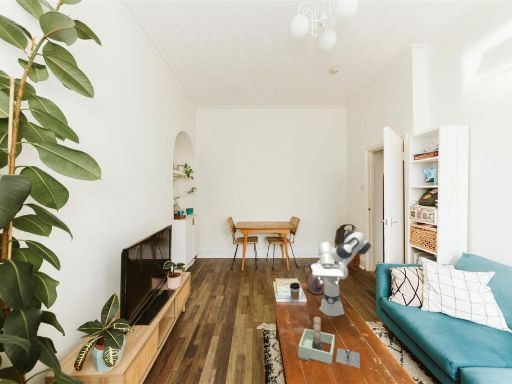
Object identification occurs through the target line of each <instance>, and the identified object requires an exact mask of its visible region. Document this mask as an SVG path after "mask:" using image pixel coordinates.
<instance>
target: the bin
mask: <svg viewBox="0 0 512 384" xmlns="http://www.w3.org/2000/svg"><path fill="white" fill-rule="evenodd" d="M335 337H336V335H335V334H331V333H328V332H327V333H326V332H322V331H321V340H322V343H326V344H328V345H330V351H329V352H328V351H324V350H322V351H321V350H317V349H313V348H312V342H313V339H314V329H310V328H309V329H308V328H304V330H303V333H302V335H301V338H300V341H299V343H298V359H301V360H304V361H305V360H306V361H309V360H310V359H311V360H313V361H318V362H322V363H326V364H329V365H332V362H333V357H334V350H335V341H336V339H335Z"/></svg>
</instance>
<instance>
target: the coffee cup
mask: <svg viewBox="0 0 512 384" xmlns="http://www.w3.org/2000/svg"><path fill="white" fill-rule="evenodd" d="M300 288H301V286H300V283H299V282H292V283H290V284H289V289H290V290H289V291H290V299H291V300H290V303H292V304H298V303H299V300H300V299H299V298H300V297H299V296H300Z"/></svg>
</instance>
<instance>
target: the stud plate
mask: <svg viewBox="0 0 512 384" xmlns="http://www.w3.org/2000/svg"><path fill="white" fill-rule="evenodd" d="M360 356H361V355H360V352H358V351H357V352H356V351H352V350H350V348H346V349H344V348H341V347H340V348H339V347H337V352H336V358H335V362H337V363H340V364H344V365H348V366H351V367H354V368H359V369H360V366H361V365H360V364H361V363H360V362H361V361H360V360H361V359H360Z"/></svg>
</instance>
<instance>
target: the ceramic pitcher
mask: <svg viewBox="0 0 512 384" xmlns="http://www.w3.org/2000/svg"><path fill="white" fill-rule="evenodd" d="M312 264H317V262H315V263H314V262H313V263H305V264H303V266H302V272H303V274H304V277H305V282H306V287H307V289H308V290H309V292H310V293H312V294H314V295H320V294H322V293H323V294H324V282H323V285H320V282H319V280H318V278H313V277H312V269H311V265H312ZM305 267H308V268H309V272H308V274H307V273H306V270H305ZM320 280H321V281H323V278H320Z"/></svg>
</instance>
